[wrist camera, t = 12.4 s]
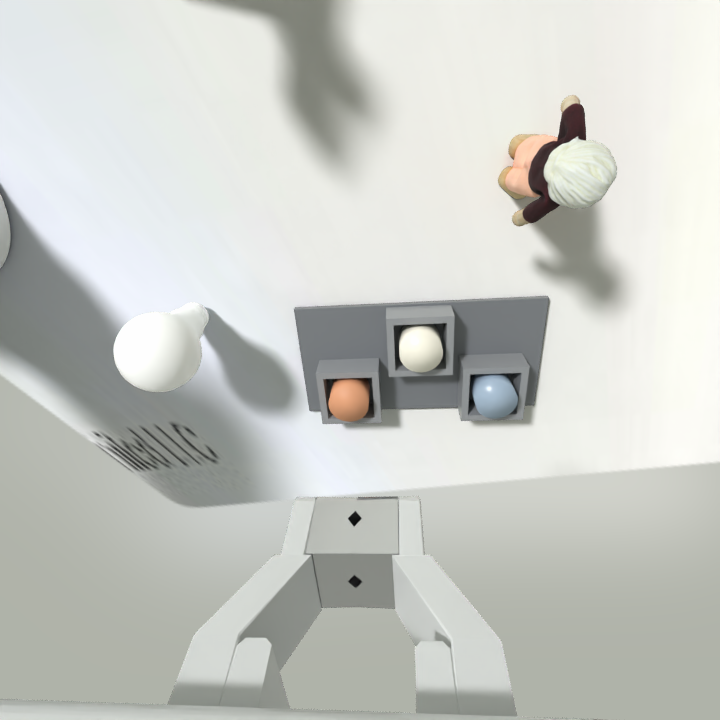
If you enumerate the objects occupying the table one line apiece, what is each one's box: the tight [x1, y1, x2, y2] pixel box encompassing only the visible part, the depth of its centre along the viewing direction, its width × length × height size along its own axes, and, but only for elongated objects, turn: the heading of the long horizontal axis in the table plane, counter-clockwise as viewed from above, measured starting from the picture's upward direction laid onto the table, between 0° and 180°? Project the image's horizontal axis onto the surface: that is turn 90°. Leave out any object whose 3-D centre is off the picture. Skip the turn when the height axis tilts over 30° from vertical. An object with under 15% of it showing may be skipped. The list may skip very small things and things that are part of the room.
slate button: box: [470, 373, 518, 419], centre depth 40 cm, size 4×4×3 cm
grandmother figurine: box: [498, 95, 617, 226], centre depth 27 cm, size 8×4×13 cm, turn 177°
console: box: [294, 296, 549, 424], centre depth 40 cm, size 22×11×3 cm, turn 94°
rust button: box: [329, 378, 370, 422], centre depth 41 cm, size 4×4×3 cm
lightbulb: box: [113, 302, 209, 392], centre depth 36 cm, size 6×6×11 cm
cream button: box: [399, 324, 443, 372], centre depth 38 cm, size 4×4×3 cm
